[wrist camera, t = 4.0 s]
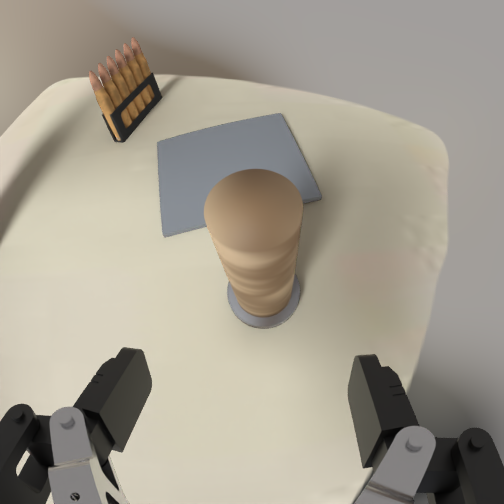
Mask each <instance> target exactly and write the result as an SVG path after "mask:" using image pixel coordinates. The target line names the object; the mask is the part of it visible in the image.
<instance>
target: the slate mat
mask: <svg viewBox="0 0 504 504" xmlns="http://www.w3.org/2000/svg"><path fill="white" fill-rule="evenodd" d="M157 149H158V175H159V193H160V208H161V221H162V232H163V236H164V237H169V236H172V235H176V234H180V233H184V232H187V231H191V230H195V229H199V228H203V227H207V225H206V222H205V219H204V205H205V201H206V199H207V196H208V194H209V193H210V191H211V190H212V188H213V187H214V186H215V185H216V184H217V183H218V182H219V181H220V180H222V179H223V178H225V177H226V176H228V175H230V174H233V173H235V172H238V171H242V170H247V169H265V170H270V171H273V172H276V173H279V174H281V175H283V176H284V177H286V178H287V179H289V180H290V181H291V182H292V183H293V184H294V185H295V186H296V188H297V189H298V191H299V193H300V195H301V198H302V201H303V203H307V202H312V201H316V200H321V197H322V195H321V193H320V191H319V189H318V187H317V185H316V182H315V180H314V178H313V176H312V174H311V172H310V170H309V168H308V166H307V164H306V161H305V159H304V157H303V155H302V153H301V151H300V149H299V147H298V145H297V143H296V141H295V139H294V137H293V136H292V134H291V132H290V130H289V128H288V126H287V124H286V122H285V120H284V118H283V117H282V115H281V113H278V114H272V115H266V116H261V117H256V118H250V119H246V120H241V121H236V122H231V123H227V124H222V125H218V126H214V127H210V128H206V129H202V130H198V131H194V132H190V133H187V134H183V135H179V136H176V137H172V138H169V139H165V140H162V141H159V142H157Z"/></svg>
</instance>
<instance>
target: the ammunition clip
mask: <svg viewBox="0 0 504 504" xmlns="http://www.w3.org/2000/svg"><path fill="white" fill-rule="evenodd" d="M131 41H132V42H131V43H132V50H133V53H134V55H133V53H132V51H131V49H130V47H129V46H128V45H127V44H126V43H124V55H125V58H126V61H125V59H124V57H123V55H122V54H121V52H120V51H119V50H117V49H116V51H115V56H116V62H117V65H118V68H119V70H118V68H117V65H116V64H115V62H114V61H113V59H112V58H111V57H110V56H107V65H108V69H109V72H110V75H111V77H110V75H109V73H108V71H107V70H106V68H105V67H104V66H103V65H102V64H101V63H99V64H98V70H99V75H100V78H101V80H102V83H103V86H104V87H103V86H102V84H101V82H100V80H99V79H98V77H97V76H96V75H95V74H94V73H93V72H92V71H90V72H89V77H90V82H91V85H92V88H93V90H94V93H95V95H96V99H97V102H98V104H99V106H100V108H101V110H102V112H103V114H102V116H103V118H104V120H105V123H106V125H107V127H108V129H109V131H110V133H111V135H112V137H113V139H114V141H115V142H125V141H126V139H127V138H128V137H129V136H130V134H131V133H132V132H133V131H134V130H135V128H136V127H137V126H138V125H139V124H140V122H141V121H142V120H143V119H144V118H145V116H146V115H147V114H148V113H149V112H150V111H151V110H152V108H153V107H154V106H155V105H156V104H157V103H158V102H159V101H160V100H161V98H162V96H161V93H160V90H159V88H158V85H157V83H156V80H155V77H154V74H153V73H151V72H150V69H149V67H148V64H147V61H146V59H145V57H144V55H143V53H142V51H141V48H140V46H139V44H138V42H137V41H136V39H135V38H132V40H131ZM134 57H135V58H134ZM126 62H127V63H126ZM111 78H112V79H111Z"/></svg>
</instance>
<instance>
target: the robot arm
mask: <svg viewBox="0 0 504 504" xmlns="http://www.w3.org/2000/svg"><path fill="white" fill-rule="evenodd" d="M151 388H152V379H151V375H150V372H149V369H148V365H147V362H146V359H145V355H144V352H143V351H142V350H141V349H133V348H126V347H124V348H122V349H121V350H120V352H119V353H118V355H117V356H116V358H111V359H109V360H108V361H107V362H105V363H104V364H102V366H101V367H100V368H99V370H98V371H97V373H96V375H94V377H93V378H92V380H91V382H89V384H88V385H87V387H86V388H85V390H84V391H83V393H82V394H81V395H80V397H79V398H78V400H77V401H76V403H75V404H74V406H73V407H64V408H61V409H59V410H57V411H56V412H54V414H53V415H52V416H43V415H35V413H34V411H33V410H32V408H31V407H30V406H28V405H26V404H17V405H15V406H13V407H11V408H10V409H9V410H8V411H7V413H6V414H5V416H4V417H3V418H2V420H1V421H0V504H46V501H47V499H48V497H49V495H50V492H52V497H53V501H54V504H130V503H129V502H128V500H127V499H126V497H125V495H124V493H123V490H122V488H121V485H120V483H119V480H118V477H117V475H116V472H115V469H114V466H113V463H112V460H111V458H110V456H109V454H110V452H111V450H115V451H118V452H123V450H124V448H125V446H126V443H127V441H128V439H129V437H130V435H131V432H132V430H133V428H134V426H135V424H136V422H137V420H138V417H139V415H140V413H141V411H142V409H143V407H144V405H145V403H146V400H147V398H148V396H149V394H150V392H151ZM348 400H349V405H350V409H351V414H352V418H353V423H354V427H355V432H356V437H357V442H358V446H359V451H360V456H361V462H362V467H363V468H368V467H373V472H374V475H373V476H372V478H371V480H370V481H369V483H368V484H367V486H366V487H365V489H364V490H363V492H362V493H361V495H360V496H359V497H358V499H357V500H356V502H355V503H354V504H414V500H413V497H414V495H415V493H427V498H428V502H429V504H504V466H503V464H502V461H501V459H500V456H499V454H498V451H497V449H496V447H495V444H494V442H493V440H492V438H491V436H490V435H489V433H487V432H486V431H485V430H483V429H480V428H470V429H467V430H466V431H464V432H463V433H462V434H461V435H460V437H459V438H437V437H434V436H433V434H432V433H431V432H430V431H429V430H427V429H426V428H423V427H420V426H419V424H418V422H417V419H416V416H415V415H414V411H413V409H412V407H411V405H410V402H409V400H408V397H407V395H406V394H405V390H404V388H403V387H402V383H401V381H400V379H399V377H398V375H397V374H396V373H395V372H394V371H393V370H392V369H391V368H390V367H389V366H386V367H381V365H380V363H379V360H378V358H377V356H376V355H375V354H372V355H359V356H355V358H354V362H353V367H352V371H351V376H350V380H349V385H348ZM26 450H27V451H28V452H29V453H30V456H29V457H28V459H27V461H26V463H25V465H24V466H23V468H22V470H21V472H20V474H19V476H17V474H16V467H17V465H18V463H19V461H20V460H21V458H22V456H23V454H24V453H25V451H26Z"/></svg>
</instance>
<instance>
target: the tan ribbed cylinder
mask: <svg viewBox="0 0 504 504" xmlns="http://www.w3.org/2000/svg"><path fill="white" fill-rule="evenodd" d="M302 215H303V201H302V198H301V195H300V193H299V191H298V189H297V188H296V186H295V185H294V184H293V183H292V182H291V181H290V180H289V179H287V178H286V177H284V176H283V175H281V174H279V173H276V172H273V171H270V170H265V169H247V170H242V171H238V172H235V173H233V174H230V175H228V176H226V177H225V178H223V179H222V180H220V181H219V182H218V183H217V184H216V185H215V186H214V187H213V188H212V190H211V191H210V193H209V194H208V196H207V199H206V201H205V205H204V219H205V222H206V225H207V228H208V230H209V233H210V235H211V238H212V240H213V243H214V245H215V248H216V250H217V253H218V255H219V258H220V260H221V262H222V265H223V267H224V270H225V272H226V275H227V277H228V279H229V284H228V289H227V296H228V301H229V304H230V306H231V308H232V310H233V312H234V313H235V315H236V316H237V317H238V318H239V319H240V320H241V321H242V322H244V323H245V324H247V325H249V326H252V327H255V328H262V329H265V328H272V327H276V326H278V325H280V324H282V323H284V322H285V321H287V320H288V319H289V318H290V317H291V316H292V314H293V313H294V311H295V310H296V308H297V305H298V302H299V297H300V285H299V281H298V279H297V276H296V275H295V267H296V260H297V253H298V246H299V238H300V231H301V223H302Z"/></svg>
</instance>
